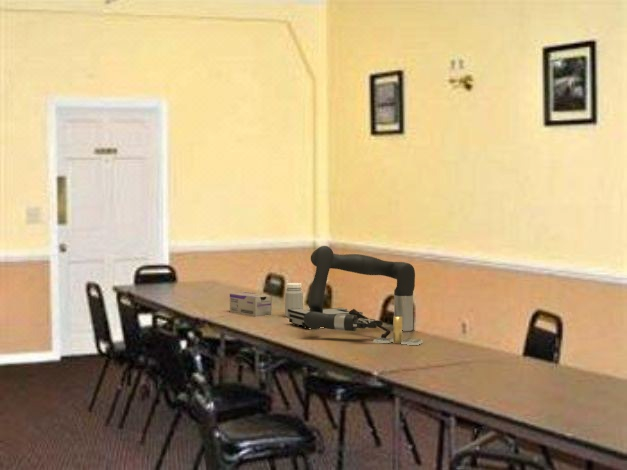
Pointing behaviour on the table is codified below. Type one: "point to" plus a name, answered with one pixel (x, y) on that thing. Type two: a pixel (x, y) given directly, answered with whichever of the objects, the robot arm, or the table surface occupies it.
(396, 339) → the link pin
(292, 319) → the game console
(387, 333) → the wrench
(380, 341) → the metal plates
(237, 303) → the surgical sutures box
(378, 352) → the table surface
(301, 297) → the jar
